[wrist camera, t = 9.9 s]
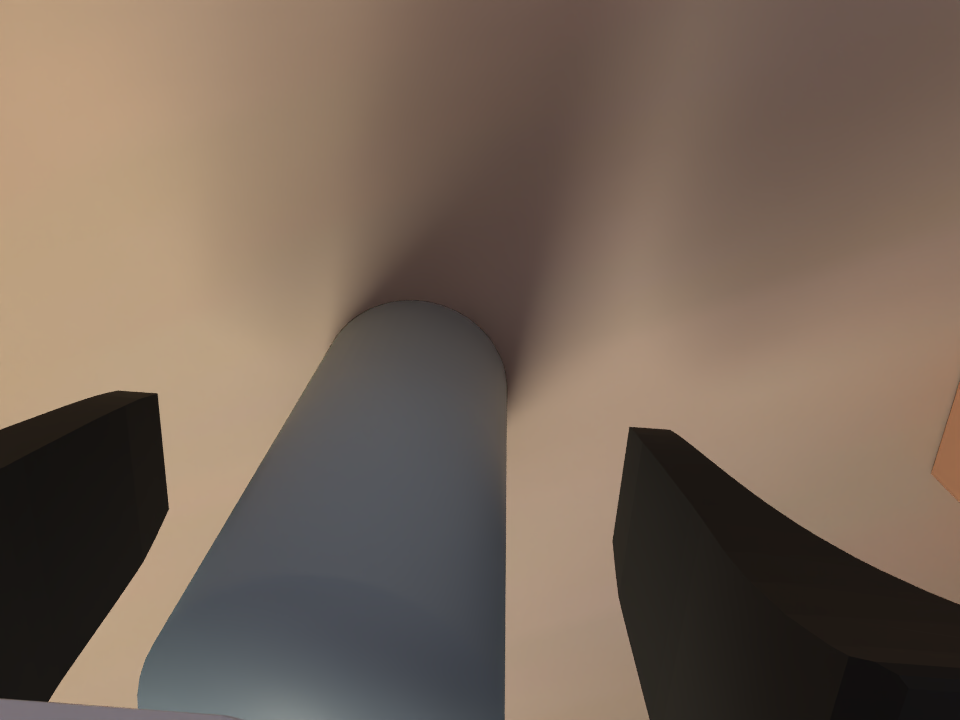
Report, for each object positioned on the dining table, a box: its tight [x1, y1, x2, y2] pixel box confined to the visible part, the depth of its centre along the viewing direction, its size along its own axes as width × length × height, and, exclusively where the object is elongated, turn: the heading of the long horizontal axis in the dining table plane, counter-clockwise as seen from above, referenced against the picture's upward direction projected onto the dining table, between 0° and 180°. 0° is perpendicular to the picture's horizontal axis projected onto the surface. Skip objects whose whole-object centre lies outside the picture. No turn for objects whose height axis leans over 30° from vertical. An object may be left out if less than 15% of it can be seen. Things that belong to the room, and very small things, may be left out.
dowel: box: [137, 300, 507, 720], centre depth 11 cm, size 4×4×8 cm
